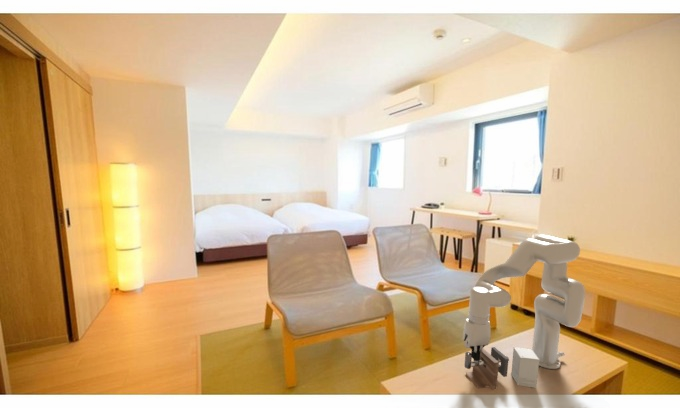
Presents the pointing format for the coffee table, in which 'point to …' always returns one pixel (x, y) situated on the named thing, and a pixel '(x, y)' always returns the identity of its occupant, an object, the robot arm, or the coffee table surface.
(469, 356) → the shaft
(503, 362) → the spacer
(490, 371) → the bracket
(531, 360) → the supplement box
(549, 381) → the coffee table surface
